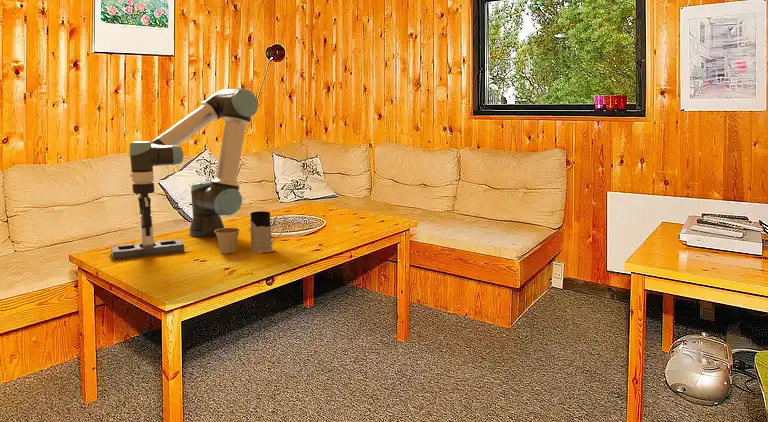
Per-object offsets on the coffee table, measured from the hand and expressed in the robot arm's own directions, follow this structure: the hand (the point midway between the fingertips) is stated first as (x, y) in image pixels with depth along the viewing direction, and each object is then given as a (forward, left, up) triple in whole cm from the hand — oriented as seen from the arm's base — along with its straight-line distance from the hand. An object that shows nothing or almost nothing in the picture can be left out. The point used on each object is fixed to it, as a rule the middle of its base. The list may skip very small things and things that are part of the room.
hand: (147, 242), depth 212 cm
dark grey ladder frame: (0, 0, -4) cm, 4 cm away
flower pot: (-27, +13, -4) cm, 31 cm away
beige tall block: (0, 0, -2) cm, 2 cm away
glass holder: (-42, +17, -4) cm, 46 cm away
